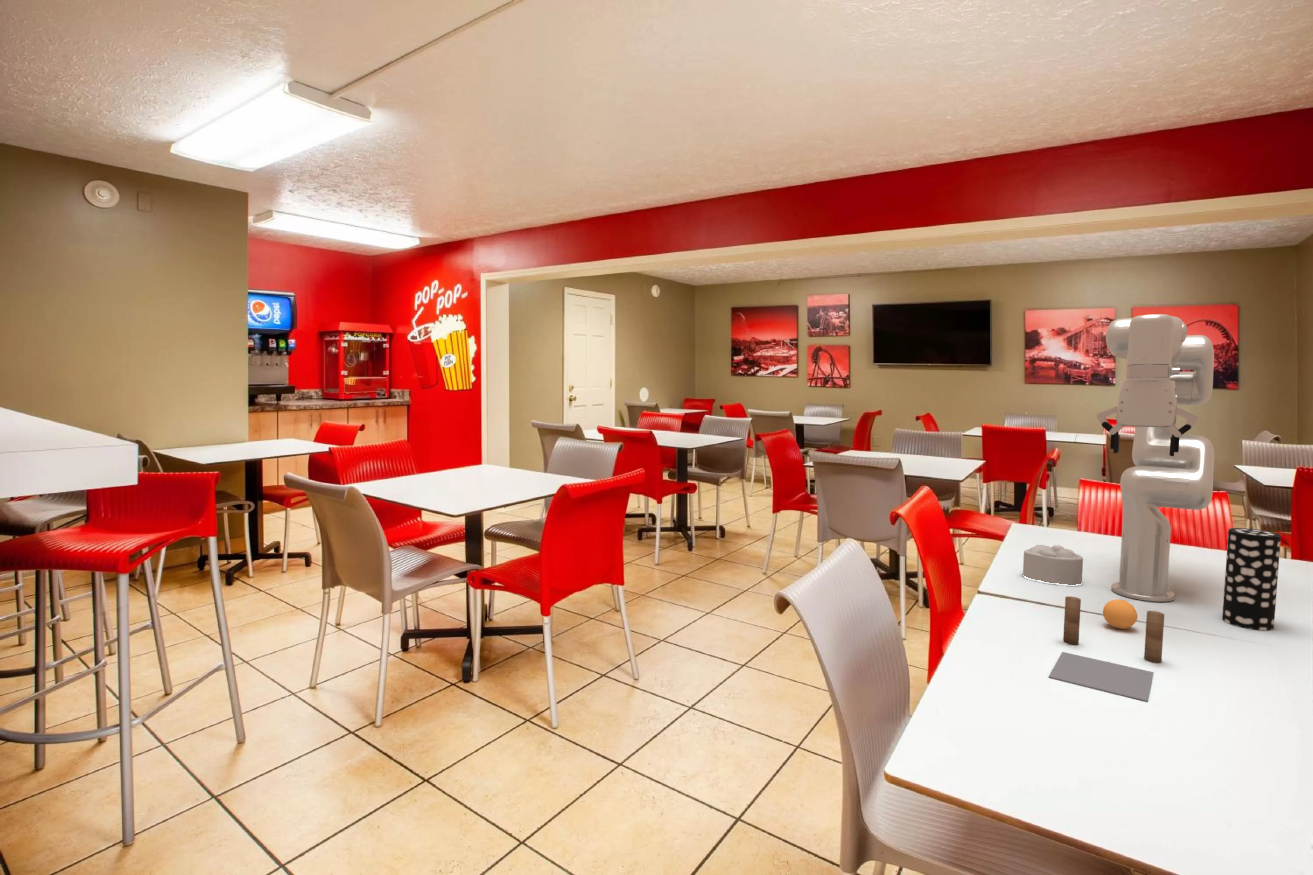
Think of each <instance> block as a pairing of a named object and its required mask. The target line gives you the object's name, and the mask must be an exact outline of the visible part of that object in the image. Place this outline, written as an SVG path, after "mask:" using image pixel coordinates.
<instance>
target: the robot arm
mask: <svg viewBox="0 0 1313 875" xmlns="http://www.w3.org/2000/svg"><path fill="white" fill-rule="evenodd" d="M1105 343H1106V346H1107V349H1108V352H1110V354H1111V355H1112V356H1114V357H1115V358H1119V359H1120V358H1121V359H1126V360H1127V361H1126V374H1125V375H1126V376H1125V377H1126V378H1125V380H1122V381H1121V384H1120V387H1119V393H1118V398H1117V406H1114V407H1112V408H1109V409H1107V410H1104V411H1102V412H1099V413H1097V415H1096V418H1097V419H1098V421H1099V423H1100V425H1101V426H1102V428H1103V429H1105V431H1106V432H1108V434H1110V446H1109V447H1110V448H1109V449H1110V450H1113V454H1117V453H1119V452H1120V439H1121V436H1120V434H1119V431H1120V430H1122V429H1123V427H1129V428H1130V427H1134V428H1135V429H1134V434H1133V436H1134V437H1133V443H1132V450H1131V459H1132V462H1133V464H1134V466H1132V467H1131V466H1130V467H1128V468H1126V469H1125V470H1124V471H1123V472H1122V474H1121V476H1120V492H1121V494H1120V495H1121V502H1122V526H1121V544H1120V546H1121V547H1120V559H1119V560H1120V561H1119V563H1120V564H1119V579H1118V581H1117V582H1113V583H1112V584H1111V587H1110V588H1111V589H1110V590H1111V591H1112V592H1114V593H1115V594H1117V595H1120V596H1123V597H1126V598H1130V599H1135V600H1140V601H1145V602H1146V601H1147V602H1159V603H1161V602H1162V603H1165V602H1172V601H1174V600H1175V597H1176V594H1175V592H1173V591H1172V590H1170V589H1168V581H1169V580H1168V579H1169V566H1170V565H1169V563H1170V551H1171V549H1170V548H1171V534H1172V527H1171V524H1170V521H1169V520H1168V518H1167V517H1166V516H1165V515H1164V514H1163V512H1162V511H1161V510H1160V509H1159V508H1171V509H1182V510H1193V511H1194V510H1196V511H1197V510H1198V511H1199V510H1204V509H1206V508H1208V506H1209V505H1210V504H1211V502H1212V498H1213V490H1214V472H1215V471H1214V470H1215V451H1214V446H1213V444H1212V442H1211V440H1210V439H1209V438H1207V437H1205V436H1202V435H1197V434H1195V435H1194V434H1186V433H1188V431H1190V430H1191V429H1192V428H1193V426H1194V425H1195V424H1196V423H1197V422H1198V419H1199V416H1198V415H1197V414H1193V413H1191V412H1189V411H1186V410H1184V409H1182V408H1181V407H1178V406H1201V405H1204V404H1207V403H1208V402H1209V401H1210V399H1211V397H1212V394H1213V390H1214V389H1213V388H1214V386H1213V385H1214V368H1215V367H1214V366H1215V349H1214V346H1213V343H1212V341H1211V339H1210V338H1209V337H1208V336H1206V335H1203V334H1195V335H1193V334H1191V335H1190V334H1189V335H1188V327H1187V324H1186V323H1184V321H1183V320H1182V319H1181V318H1180V317H1178V316H1174V315H1173V316H1172V315H1169V314H1163V313H1160V314H1159V313H1158V314H1157V313H1156V314H1155V313H1154V314H1153V313H1151V314H1143V315H1140V314H1139V315H1137V316H1133V317H1128V318H1127V317H1125V318H1118V319H1114V320H1112V321H1111V322H1110V323H1109V324H1108V326H1107V329H1106V332H1105ZM1187 370H1189V371H1187ZM1190 370H1191V371H1190ZM1114 414H1116V416H1115V418H1116V424H1115V425H1114V426H1113V425H1112V424H1111V423H1109V421H1108V420H1107V417H1109V416H1111V415H1114ZM1177 416H1180V417H1183V418H1184V419H1186V420H1187V422H1186V423H1185V424H1184V425H1183V426H1181V427H1180V428H1178V424H1177Z"/></svg>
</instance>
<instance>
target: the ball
mask: <svg viewBox="0 0 1313 875" xmlns="http://www.w3.org/2000/svg"><path fill="white" fill-rule="evenodd" d="M1102 608H1103V609H1102V615H1103V617H1104V620H1105V621H1106V622H1107V623H1108V625H1110V626H1112V627H1114V628H1116V629H1122V630H1123V629H1124V630H1125V629H1129V628H1131V627H1133V626H1134V625H1135V624H1136V622H1137V620H1138V612H1137V610H1136V607H1134V606H1133V604H1131V603H1130V602H1129V601H1126V600H1123V599H1117V598H1115V599H1112V600H1111V599H1110V600H1109V601H1107V602H1106V603H1105V604H1104V606H1103V607H1102Z"/></svg>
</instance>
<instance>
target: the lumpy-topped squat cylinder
mask: <svg viewBox="0 0 1313 875" xmlns="http://www.w3.org/2000/svg"><path fill="white" fill-rule="evenodd" d="M1083 563H1084V558H1083V557H1082V556H1081V555H1079V554H1077V553H1076V552H1074V551H1073V550H1072V549H1069V548H1065V547H1064V546H1062V545H1059V544H1058V545H1057V544H1055V545H1052V546H1051V547H1050V546H1049V545H1046V544H1036V545H1034V546H1032V547H1030V548H1029V549H1026V550H1024V551H1023V566H1022V576H1023V575H1024V576H1026V577H1028V578H1031V579H1035V580H1041V581H1044V582H1049V583H1059V584H1068V585H1076V584H1081V583H1082V584H1083V569H1084V568H1083V567H1084V566H1083V565H1084V564H1083Z"/></svg>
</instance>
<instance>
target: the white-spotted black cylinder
mask: <svg viewBox="0 0 1313 875" xmlns="http://www.w3.org/2000/svg"><path fill="white" fill-rule="evenodd" d="M1281 539H1282V535H1281V533H1278V532H1274V531H1269V530H1263V529H1257V528H1244V527H1243V528H1242V527H1232V528H1231V527H1230V528H1228V532H1227V546H1226V561H1225V571H1224V572H1225V573H1224V574H1225V575H1224V588H1223V602H1222V604H1223V605H1222V614H1221V615H1222V618H1221V620H1222V621H1223V622H1225V623H1226V624H1229V625H1231V626H1235V627H1239V628H1242V629H1243V628H1244V629H1248V630H1253V631H1254V630H1255V631H1273V630H1274V629H1275V618H1276V617H1275V615H1276V604H1277V593H1278V591H1277V590H1278V581H1279V580H1278V578H1279V565H1280V551H1281V542H1282V541H1281Z"/></svg>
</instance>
